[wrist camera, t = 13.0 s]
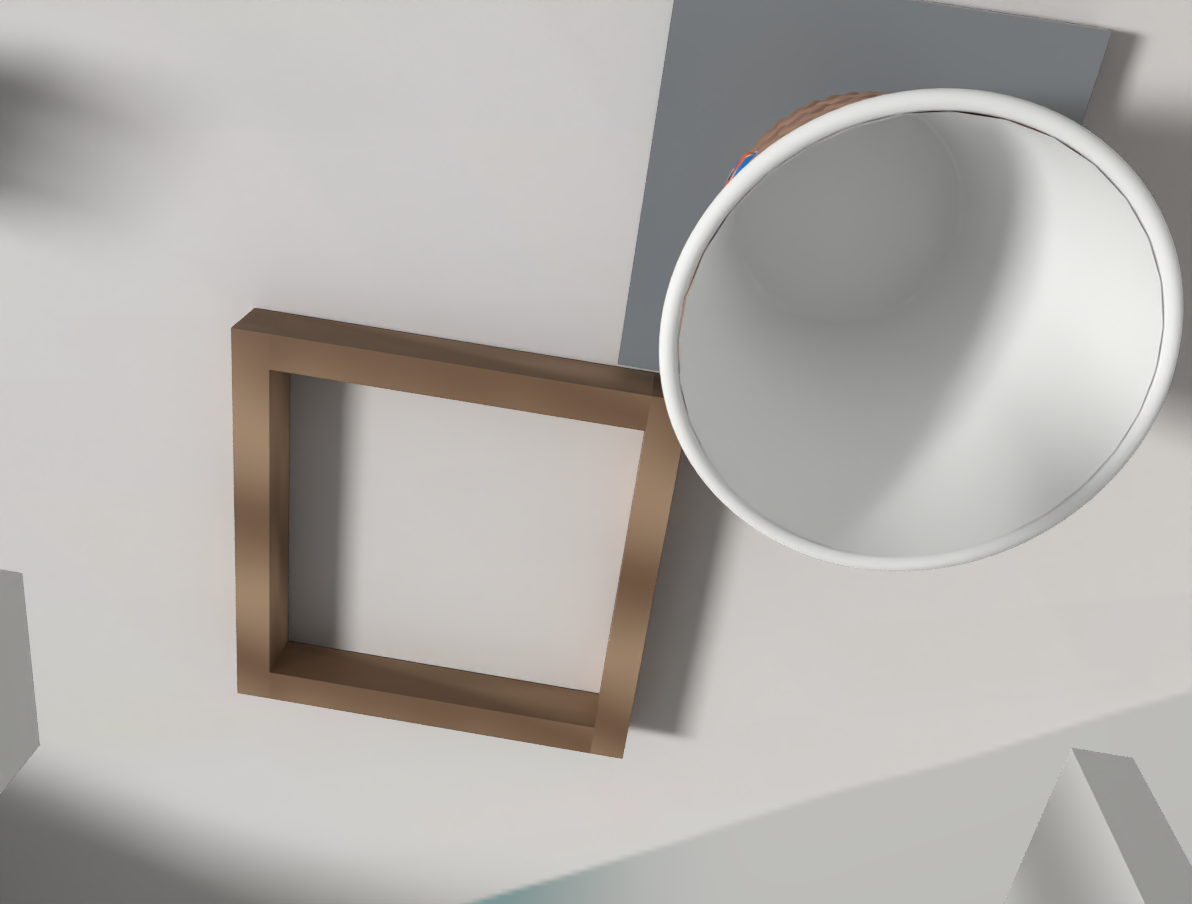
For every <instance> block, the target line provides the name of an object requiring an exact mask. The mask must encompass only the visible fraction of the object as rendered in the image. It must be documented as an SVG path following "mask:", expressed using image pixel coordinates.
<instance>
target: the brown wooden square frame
mask: <svg viewBox="0 0 1192 904" xmlns="http://www.w3.org/2000/svg"><path fill="white" fill-rule="evenodd" d="M231 343H232V401H233V459H234V516H235V574H236V632H237V689H238V693H241V694H247V695H253V696H259V697H265V698H271V699H276V700H282V701H288V702H294V703H300V704H306V705H311V706H317V707H323V708H329V709H335V710H341V711H346V712H352V713H358V714H364V715H370V716H376V717H382V718H387V719H393V720H399V721H405V722H411V723H417V724H422V725H428V726H434V727H440V728H446V729H452V730H457V731H463V732H469V733H475V734H481V735H487V736H493V737H498V738H504V739H510V740H516V741H522V742H528V743H533V744H539V745H545V746H551V747H557V748H563V749H568V750H574V751H580V752H586V753H592V754H598V755H604V756H609V757H615V758H621V759H623V753H624V748H625V743H626V738H627V732H628V727H629V722H630V717H631V711H632V706H633V701H634V696H635V690H636V685H637V680H638V675H639V669H640V664H641V659H642V654H643V648H644V643H645V638H646V633H647V627H648V622H649V617H650V612H651V606H652V601H653V596H654V591H655V585H656V580H657V575H658V570H659V564H660V559H661V554H662V548H663V543H664V538H665V533H666V527H667V522H668V517H669V512H670V506H671V501H672V496H673V491H674V485H675V480H676V475H677V470H678V464H679V459H680V454H681V449H682V447H681V445H680V443H679V441H678V438H677V436H676V434H675V431H674V429H673V426H672V424H671V421H670V418H669V415H668V412H667V408H666V404H665V400H664V395H663V390H662V384H661V376H660V374H658V373H652V372H646V371H640V370H634V369H627V368H621V367H615V366H609V365H603V364H596V363H590V362H584V361H578V360H572V359H566V358H559V357H553V356H547V355H541V354H535V353H528V352H522V351H516V350H510V349H504V348H498V347H491V346H485V345H479V344H473V343H467V342H461V341H454V340H448V339H442V338H436V337H430V336H423V335H417V334H411V333H405V332H399V331H393V330H386V329H380V328H374V327H368V326H362V325H356V324H349V323H343V322H337V321H331V320H325V319H318V318H312V317H306V316H300V315H294V314H288V313H281V312H275V311H269V310H263V309H257V308H254V309H253V310H252V311H251V312H249V313H248V314H247V315H246V316H245V317H243V318H242V319H241V320H240V321H239V322H238V323H236V324H235V325H234V326H233V327H232V328H231ZM290 373H293V374H299V375H305V376H312V377H318V378H324V379H330V380H336V381H342V382H348V383H354V384H361V385H367V386H373V387H379V388H385V389H391V390H397V391H403V392H410V393H416V394H422V395H428V396H434V397H440V398H446V399H452V400H459V401H465V402H471V403H477V404H483V405H489V406H495V407H501V408H508V409H514V410H520V411H526V412H532V413H538V414H544V415H550V416H557V417H563V418H569V419H575V420H581V421H587V422H593V423H599V424H606V425H612V426H618V427H624V428H630V429H636V430H642V431H645V432H644V437H643V443H642V449H641V455H640V461H639V466H638V472H637V478H636V484H635V490H634V496H633V501H632V507H631V513H630V519H629V525H628V530H627V536H626V542H625V548H624V554H623V560H622V565H621V571H620V577H619V583H618V589H617V594H616V600H615V606H614V612H613V618H612V624H611V629H610V635H609V641H608V647H607V653H606V658H605V664H604V670H603V676H602V682H601V688H600V693H599V694H596V693H590V692H584V691H578V690H572V689H566V688H560V687H554V686H549V685H543V684H537V683H531V682H525V681H519V680H513V679H507V678H501V677H496V676H490V675H484V674H478V673H472V672H466V671H460V670H454V669H448V668H443V667H437V666H431V665H425V664H419V663H413V662H407V661H401V660H395V659H390V658H384V657H378V656H372V655H366V654H360V653H354V652H348V651H342V650H337V649H331V648H325V647H319V646H313V645H307V644H301V643H295V642H289V641H288V554H289V439H290ZM680 384H681V383H680ZM681 389H682V387H681ZM682 395H683V392H682ZM683 399H684V396H683ZM684 403H685V400H684ZM685 407H686V404H685ZM686 410H687V408H686ZM687 413H688V412H687Z"/></svg>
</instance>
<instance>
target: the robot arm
mask: <svg viewBox="0 0 1192 904" xmlns="http://www.w3.org/2000/svg"><path fill="white" fill-rule="evenodd" d="M39 745H40V742H39V732H38V723H37V713H36V703H35V693H34V683H33V674H32V664H31V654H30V644H29V635H28V625H27V615H26V605H25V596H24V586H23V576H22V573H18V572H12V571H6V570H0V794H1V793H2V791H3V790H4V789H5V788H6V786H7V785H8V784H9V783H10V781H11V780H12V779H13V778H14V777H15V775H16V774H17V773H18V772H19V770H20V769H21V768H22V767H23V765H24V764H25V763H26V762H27V760H28V759H29V758H30V757H31V755H32V754H33V753H34V752H35V750H36V749H37V748H38V747H39ZM1004 904H1192V866H1191V864H1190V863H1189V861H1188V859H1187V857H1186V855H1185V853H1184V852H1183V850H1182V848H1181V846H1180V844H1179V842H1178V840H1177V838H1176V837H1175V835H1174V833H1173V831H1172V830H1171V827H1170V826H1169V824H1168V822H1167V820H1166V818H1165V816H1164V814H1163V813H1162V811H1161V809H1160V807H1159V805H1158V804H1157V802H1156V800H1155V798H1154V796H1153V794H1152V792H1151V790H1150V789H1149V787H1148V785H1147V783H1146V781H1145V779H1144V778H1143V776H1142V774H1141V772H1140V770H1139V768H1138V767H1137V765H1136V763H1135V761H1134V759H1133V758H1130V757H1124V756H1117V755H1111V754H1106V753H1100V752H1093V751H1088V750H1082V749H1076V748H1071V750H1070V752H1069V754H1068V757H1067V759H1066V761H1065V763H1064V766H1063V768H1062V771H1061V773H1060V775H1059V777H1058V780H1057V782H1056V785H1055V787H1054V789H1053V791H1052V794H1051V796H1050V798H1049V800H1048V803H1047V805H1046V807H1045V810H1044V812H1043V814H1042V817H1041V819H1040V821H1039V823H1038V826H1037V828H1036V831H1035V833H1034V835H1033V838H1032V840H1031V842H1030V844H1029V847H1028V849H1027V851H1026V853H1025V856H1024V858H1023V860H1022V863H1021V865H1020V867H1019V870H1018V872H1017V874H1016V877H1015V879H1014V881H1013V883H1012V886H1011V888H1010V890H1009V893H1008V895H1007V897H1006V900H1005V902H1004Z"/></svg>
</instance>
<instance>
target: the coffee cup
mask: <svg viewBox="0 0 1192 904" xmlns="http://www.w3.org/2000/svg"><path fill="white" fill-rule="evenodd" d="M1055 138H1056V139H1058V140H1060V141H1061V142H1063V143H1065V144H1066V145H1064V144H1062V143H1061V142H1059V141H1058V140H1056V139H1055ZM1080 154H1081V155H1083V156H1084V157H1085V158H1087V159H1088V160H1089V161H1090V162H1089V161H1088V160H1086V159H1085V158H1083V157H1082V156H1081V155H1080ZM1092 163H1093V164H1092ZM1101 172H1103V173H1104V174H1105V175H1106V176H1107V177H1108V178H1109V179H1110V181H1111V182H1112V183H1113V184H1114V185H1115V186H1116V187H1117V189H1118V190H1119V191H1120V192H1121V193H1120V192H1119V191H1118V190H1117V189H1116V188H1115V187H1114V185H1113V184H1112V183H1111V182H1110V181H1109V180H1108V179H1107V178H1106V177H1105V176H1104V175H1103V174H1102V173H1101ZM1130 206H1131V207H1130ZM1131 208H1132V209H1133V210H1132V209H1131ZM1133 211H1134V212H1135V214H1136V216H1137V217H1136V216H1135V214H1134V212H1133ZM1137 218H1138V219H1137ZM1138 220H1139V221H1140V223H1141V224H1140V223H1139V221H1138ZM1141 225H1142V226H1141ZM1142 227H1143V228H1142ZM1143 229H1144V230H1143ZM1152 252H1153V253H1152ZM1153 255H1154V256H1153ZM1154 259H1155V260H1154ZM1155 262H1156V263H1155ZM1156 266H1157V267H1156ZM1183 309H1184V304H1183V286H1182V277H1181V271H1180V266H1179V260H1178V256H1177V252H1176V249H1175V245H1174V242H1173V239H1172V236H1171V233H1170V231H1169V228H1168V226H1167V223H1166V221H1165V219H1164V217H1163V214H1162V212H1161V211H1160V209H1159V207H1158V205H1157V203H1156V201H1155V200H1154V198H1153V196H1152V195H1151V193H1150V192H1149V190H1148V189H1147V187H1146V186H1145V184H1144V183H1143V182H1142V180H1141V179H1140V178H1139V176H1138V175H1137V174H1136V173H1135V172H1134V170H1133V169H1132V168H1131V167H1130V166H1129V165H1128V164H1127V162H1126V161H1125V160H1124V159H1123V158H1122V157H1121V156H1120V155H1119V154H1117V153H1116V152H1115V151H1114V150H1113V149H1112V148H1111V147H1110V146H1109V145H1107V144H1106V143H1105V142H1104V141H1103V140H1101V139H1100V138H1099V137H1097V136H1096V135H1094V134H1093V133H1092V132H1090V131H1089V130H1087V129H1086V128H1084V127H1083V126H1081V125H1079V124H1078V123H1076V122H1075V121H1073V120H1071V119H1069V118H1067V117H1065V116H1063V115H1061V114H1059V113H1057V112H1055V111H1053V110H1050V109H1048V108H1046V107H1043V106H1041V105H1038V104H1035V103H1033V102H1030V101H1027V100H1023V99H1020V98H1016V97H1013V96H1009V95H1004V94H999V93H995V92H988V91H981V90H972V89H960V88H934V89H918V90H910V91H902V92H896V93H891V94H889V93H878V92H870V91H868V92H863V93H858V92H848V93H845V94H843V95H830V96H828V97H827V98H826V99H824V100H822V101H819V100H815V101H812V102H810V103H808V104H807V105H806V106H805V107H803V108H798V109H795V110H793V111H792V112H791V114H790V115H789V116H787V117H786V118H785V119H780V120H778V121H777V122H776V123H775V124H774V126H773V127H772V128H771V129H770V130H768V131H766V132H764V133H763V134H762V135H761V137H760V139H759V140H758V141H757V143H756V144H755V145H754V146H752V147H751V148H750V149H749V151H748V153H745V154H744V155H743V156H742V157H741V158H740V159H739V160H738V162H737V163H736V164H735V166H734V168H733V169H732V171H731V173H730V175H729V177H728V179H727V182H726V184H725V186H724V188H723V190H722V191H721V192H720V193H719V194H718V195H717V197H716V198H715V199H714V201H713V202H712V203H711V204H710V206H709V207H708V208H707V210H706V211H705V213H704V214H703V216H702V217H701V218H700V220H699V221H698V223H697V225H696V226H695V228H694V230H693V231H692V233H691V235H690V237H689V238H688V240H687V242H686V244H685V246H684V248H683V250H682V252H681V255H680V257H679V259H678V261H677V264H676V266H675V269H674V272H673V274H672V277H671V280H670V283H669V287H668V290H667V293H666V298H665V302H664V306H663V312H662V318H661V325H660V336H659V367H660V376H661V384H662V390H663V395H664V400H665V404H666V408H667V412H668V415H669V418H670V421H671V424H672V426H673V429H674V431H675V434H676V436H677V438H678V441H679V443H680V445H681V447H682V449H683V451H684V452H685V454H686V456H687V458H688V459H689V461H690V463H691V464H692V466H693V467H694V469H695V470H696V472H697V473H698V475H699V476H700V477H701V479H702V480H703V481H704V483H705V484H706V485H707V486H708V487H709V489H710V490H711V491H712V492H713V493H714V494H715V495H716V496H717V497H718V498H719V499H720V500H721V501H722V502H723V503H724V504H725V505H726V506H727V507H728V508H729V509H730V510H731V511H732V512H734V513H735V514H736V515H737V516H738V517H740V518H741V519H742V520H744V521H745V522H746V523H748V524H749V525H750V526H752V527H753V528H755V529H756V530H758V531H759V532H761V533H762V534H764V535H766V536H767V537H769V538H771V539H772V540H774V541H776V542H778V543H780V544H782V545H784V546H786V547H788V548H790V549H793V550H795V551H797V552H800V553H802V554H805V555H807V556H810V557H813V558H816V559H819V560H823V561H826V562H830V563H834V564H838V565H843V566H847V567H853V568H860V569H868V570H879V571H917V570H928V569H937V568H944V567H950V566H955V565H960V564H964V563H969V562H972V561H976V560H979V559H983V558H986V557H989V556H992V555H995V554H998V553H1001V552H1003V551H1006V550H1008V549H1011V548H1013V547H1016V546H1018V545H1020V544H1022V543H1024V542H1027V541H1029V540H1030V539H1032V538H1034V537H1036V536H1038V535H1040V534H1042V533H1044V532H1045V531H1047V530H1049V529H1050V528H1052V527H1054V526H1055V525H1057V524H1058V523H1060V522H1062V521H1063V520H1065V519H1066V518H1067V517H1069V516H1070V515H1072V514H1073V513H1074V512H1076V511H1077V510H1078V509H1080V508H1081V507H1082V506H1083V505H1085V504H1086V503H1087V502H1088V501H1090V500H1091V499H1092V498H1093V497H1094V496H1095V495H1096V494H1097V493H1099V492H1100V491H1101V490H1102V489H1103V488H1104V487H1105V486H1106V485H1107V484H1108V483H1109V482H1110V481H1111V480H1112V479H1113V478H1114V477H1115V475H1116V474H1117V473H1118V472H1119V471H1120V470H1121V469H1122V468H1123V466H1124V465H1125V464H1126V463H1127V461H1128V460H1129V459H1130V458H1131V456H1132V455H1133V454H1134V452H1135V451H1136V450H1137V448H1138V447H1139V445H1140V444H1141V443H1142V441H1143V439H1144V438H1145V436H1146V435H1147V433H1148V431H1149V430H1150V428H1151V426H1152V424H1153V423H1154V421H1155V419H1156V417H1157V415H1158V413H1159V411H1160V409H1161V407H1162V405H1163V402H1164V400H1165V397H1166V395H1167V392H1168V390H1169V387H1170V384H1171V381H1172V378H1173V375H1174V372H1175V368H1176V364H1177V360H1178V355H1179V350H1180V344H1181V337H1182V328H1183ZM678 340H679V344H678ZM678 359H679V361H680V376H679V366H678ZM680 383H681V384H680ZM681 387H682V389H681ZM682 392H683V395H682ZM683 396H684V399H683ZM684 400H685V403H684ZM685 404H686V407H685ZM686 408H687V410H686ZM687 412H688V413H687ZM694 431H695V432H694ZM695 433H696V434H695ZM696 435H697V436H696ZM697 437H698V438H697ZM698 439H699V440H698ZM699 441H700V442H699ZM700 443H701V444H700ZM701 445H702V446H701ZM702 447H703V448H702Z"/></svg>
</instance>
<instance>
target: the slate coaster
mask: <svg viewBox="0 0 1192 904" xmlns="http://www.w3.org/2000/svg"><path fill="white" fill-rule="evenodd" d="M1111 33H1112V31H1111V30H1107V29H1103V28H1099V27H1093V26H1086V25H1080V24H1073V23H1066V22H1060V21H1053V20H1047V19H1040V18H1034V17H1027V16H1020V15H1014V14H1007V13H1001V12H994V11H988V10H981V9H974V8H968V7H961V6H955V5H948V4H941V3H935V2H928V1H922V0H674V4H673V10H672V17H671V23H670V29H669V36H668V42H667V49H666V55H665V62H664V68H663V75H662V81H661V88H660V94H659V101H658V107H657V113H656V120H655V126H654V133H653V139H652V146H651V152H650V159H649V165H648V172H647V178H646V185H645V191H644V198H643V204H642V210H641V217H640V223H639V230H638V236H637V243H636V249H635V256H634V262H633V269H632V275H631V282H630V288H629V294H628V301H627V307H626V314H625V320H624V327H623V333H622V340H621V346H620V353H619V359H618V364H620V365H626V366H633V367H639V368H645V369H651V370H657V371H660V367H659V336H660V325H661V318H662V312H663V306H664V302H665V298H666V293H667V290H668V287H669V283H670V280H671V277H672V274H673V272H674V269H675V266H676V264H677V261H678V259H679V257H680V255H681V252H682V250H683V248H684V246H685V244H686V242H687V240H688V238H689V237H690V235H691V233H692V231H693V230H694V228H695V226H696V225H697V223H698V221H699V220H700V218H701V217H702V216H703V214H704V213H705V211H706V210H707V208H708V207H709V206H710V204H711V203H712V202H713V201H714V199H715V198H716V197H717V195H718V194H719V193H720V192H721V191H722V190H723V188H724V186H725V184H726V182H727V179H728V177H729V175H730V173H731V171H732V169H733V168H734V166H735V164H736V163H737V162H738V160H739V159H740V158H741V157H742V156H743V155H744V154H745V153H748V151H749V149H750V148H751V147H752V146H754V145H755V144H756V143H757V141H758V140H759V139H760V137H761V135H762V134H763V133H764V132H766V131H768V130H770V129H771V128H772V127H773V126H774V124H775V123H776V122H777V121H778V120H780V119H785V118H786V117H787V116H789V115H790V114H791V112H792V111H793V110H795V109H798V108H803V107H805V106H806V105H807V104H808V103H810V102H812V101H815V100H819V101H822V100H824V99H826V98H827V97H828V96H830V95H843V94H845V93H848V92H858V93H863V92H868V91H870V92H878V93H889V94H891V93H896V92H902V91H910V90H918V89H934V88H960V89H972V90H981V91H988V92H995V93H999V94H1004V95H1009V96H1013V97H1016V98H1020V99H1023V100H1027V101H1030V102H1033V103H1035V104H1038V105H1041V106H1043V107H1046V108H1048V109H1050V110H1053V111H1055V112H1057V113H1059V114H1061V115H1063V116H1065V117H1067V118H1069V119H1071V120H1073V121H1075V122H1076V123H1078V124H1079V125H1081V124H1082V121H1083V118H1084V115H1085V112H1086V109H1087V106H1088V103H1089V100H1090V97H1091V94H1092V91H1093V88H1094V85H1095V82H1096V79H1097V75H1098V72H1099V69H1100V66H1101V63H1102V60H1103V57H1104V54H1105V51H1106V48H1107V45H1108V42H1109V39H1110V36H1111ZM1055 139H1056V138H1055ZM1056 140H1058V139H1056ZM1058 141H1059V142H1061V141H1060V140H1058ZM1061 143H1062V144H1064V145H1066V144H1065V143H1063V142H1061ZM678 344H679V340H678ZM678 366H679V374H680V361H679V359H678Z"/></svg>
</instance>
